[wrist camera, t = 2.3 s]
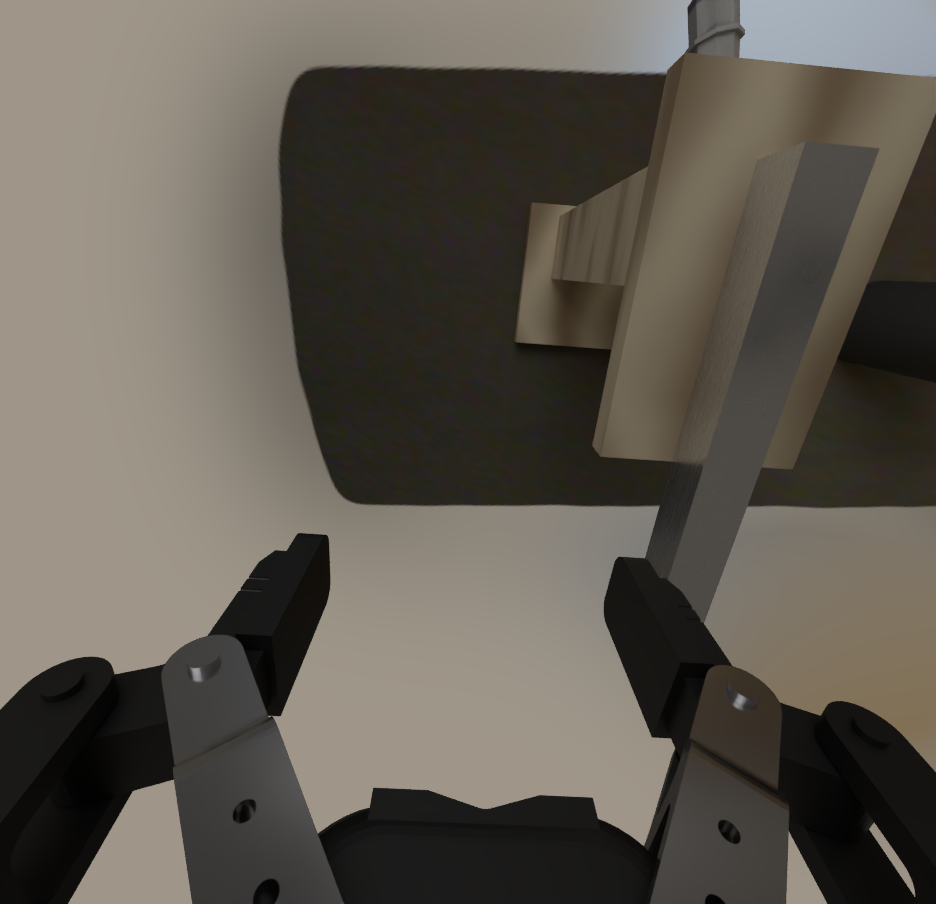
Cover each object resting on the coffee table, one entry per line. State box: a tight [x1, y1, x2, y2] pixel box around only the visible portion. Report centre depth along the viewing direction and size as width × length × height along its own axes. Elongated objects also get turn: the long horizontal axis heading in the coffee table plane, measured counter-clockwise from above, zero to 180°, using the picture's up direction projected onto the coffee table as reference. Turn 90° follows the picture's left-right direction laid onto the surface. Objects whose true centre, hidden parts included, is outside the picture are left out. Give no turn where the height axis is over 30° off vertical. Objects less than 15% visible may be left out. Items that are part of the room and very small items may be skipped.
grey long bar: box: [645, 141, 880, 623], centre depth 20 cm, size 3×22×3 cm, turn 176°
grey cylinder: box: [685, 0, 745, 58], centre depth 42 cm, size 5×7×25 cm
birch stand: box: [515, 53, 936, 469], centre depth 34 cm, size 12×16×32 cm
